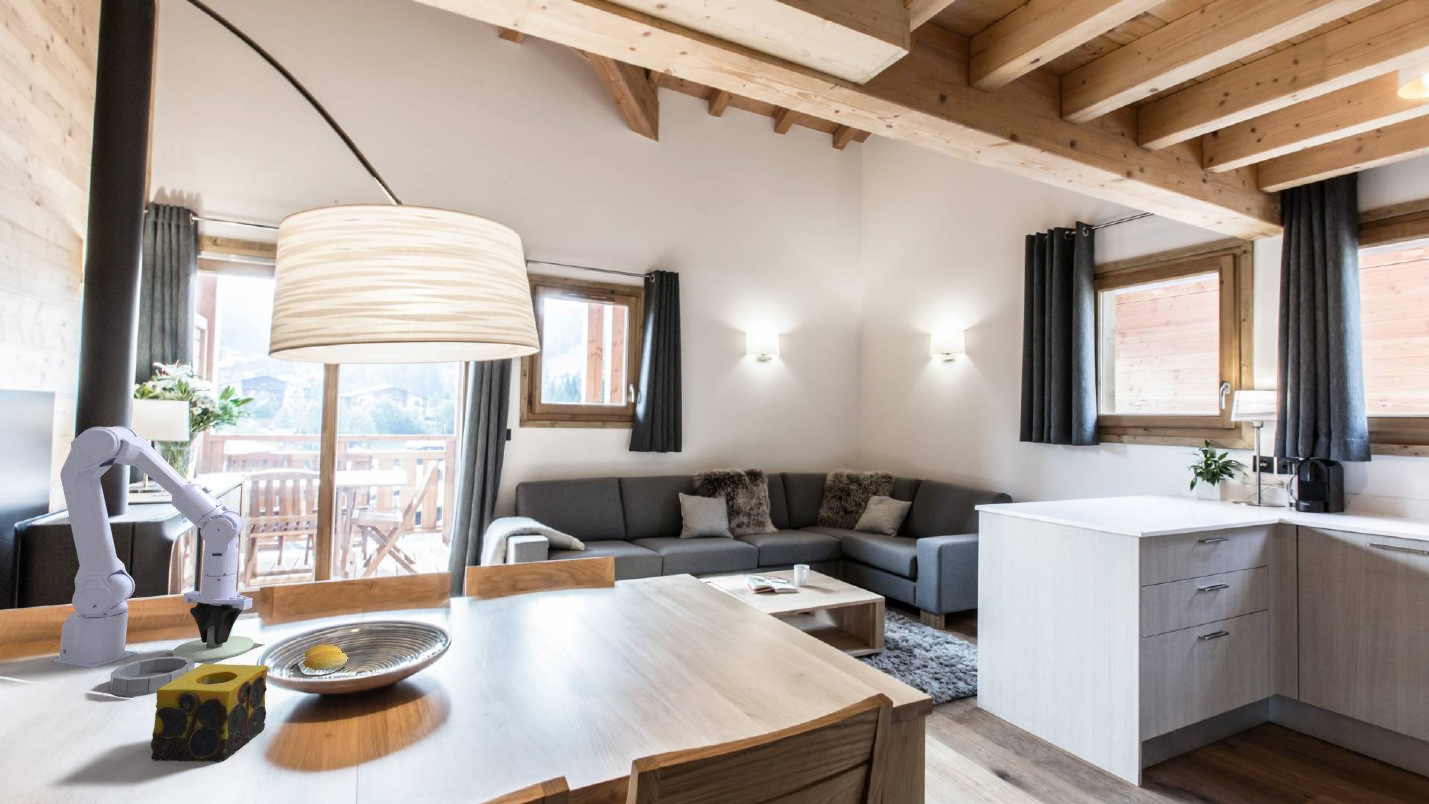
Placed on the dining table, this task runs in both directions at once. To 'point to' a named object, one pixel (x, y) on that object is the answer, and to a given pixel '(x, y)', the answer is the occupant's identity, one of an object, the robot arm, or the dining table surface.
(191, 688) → the yellow patterned cube
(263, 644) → the mat
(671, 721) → the dining table surface
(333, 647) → the bread roll
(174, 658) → the bowl
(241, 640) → the lid
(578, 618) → the dining table surface
